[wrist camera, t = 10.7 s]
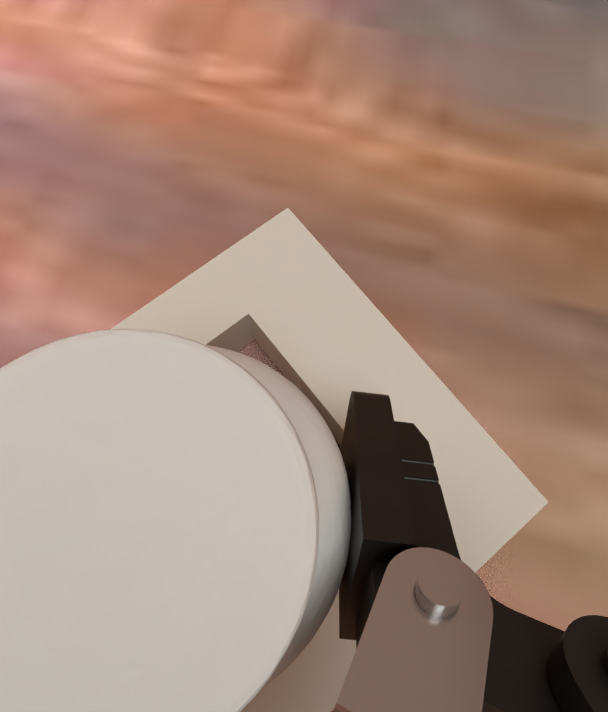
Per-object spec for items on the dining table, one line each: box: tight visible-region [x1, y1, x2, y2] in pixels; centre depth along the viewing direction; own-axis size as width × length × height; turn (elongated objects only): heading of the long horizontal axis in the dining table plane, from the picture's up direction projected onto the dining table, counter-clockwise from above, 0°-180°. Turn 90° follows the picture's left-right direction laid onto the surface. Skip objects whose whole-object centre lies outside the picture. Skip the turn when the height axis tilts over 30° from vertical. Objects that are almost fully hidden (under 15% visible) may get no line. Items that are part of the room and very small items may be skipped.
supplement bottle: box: [0, 328, 351, 712], centre depth 9 cm, size 5×5×10 cm
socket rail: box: [110, 208, 548, 712], centre depth 12 cm, size 26×11×2 cm, turn 129°
